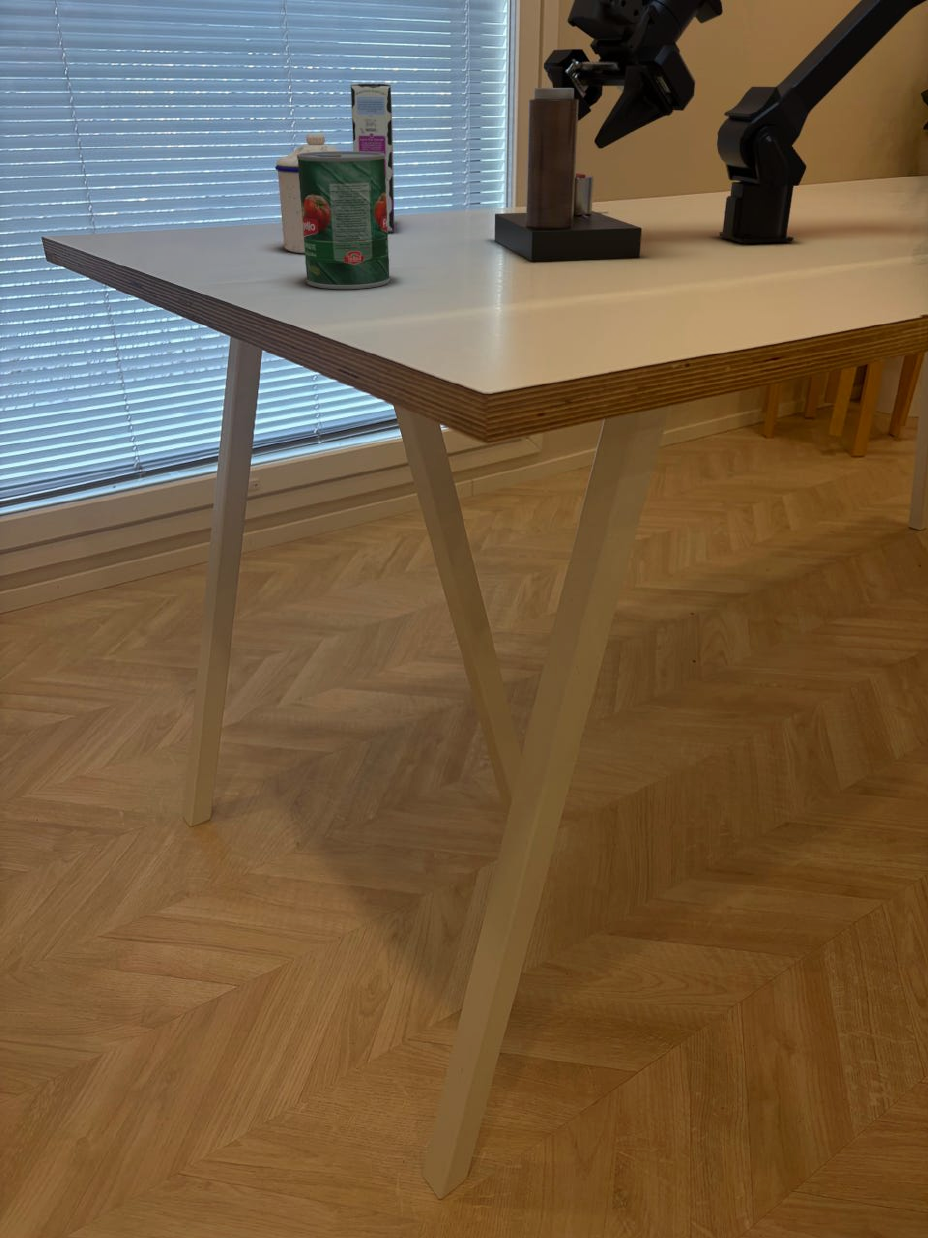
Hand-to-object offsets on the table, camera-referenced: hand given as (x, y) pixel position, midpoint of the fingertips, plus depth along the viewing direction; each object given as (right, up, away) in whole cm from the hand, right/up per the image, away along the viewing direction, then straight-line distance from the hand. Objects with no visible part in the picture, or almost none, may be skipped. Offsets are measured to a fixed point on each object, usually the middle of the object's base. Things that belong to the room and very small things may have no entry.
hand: (569, 143), depth 103 cm
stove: (0, -8, +8) cm, 11 cm away
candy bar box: (-22, +1, +25) cm, 33 cm away
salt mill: (-2, -7, +3) cm, 8 cm away
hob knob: (+2, -3, +12) cm, 12 cm away
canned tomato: (-22, -18, -9) cm, 30 cm away
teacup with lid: (-27, -7, +10) cm, 30 cm away
